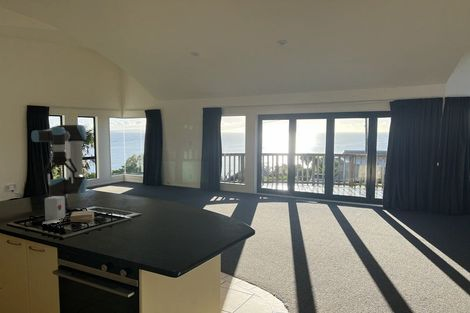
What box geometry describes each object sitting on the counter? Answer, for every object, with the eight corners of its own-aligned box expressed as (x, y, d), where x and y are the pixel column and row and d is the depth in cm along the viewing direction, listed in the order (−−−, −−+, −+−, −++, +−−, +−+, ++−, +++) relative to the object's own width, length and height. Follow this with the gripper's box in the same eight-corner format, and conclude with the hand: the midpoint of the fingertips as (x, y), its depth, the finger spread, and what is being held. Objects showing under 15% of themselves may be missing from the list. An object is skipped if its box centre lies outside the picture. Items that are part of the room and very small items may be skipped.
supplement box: (57, 220, 223) (56, 198, 222) (44, 220, 224) (43, 198, 223) (65, 217, 232) (65, 196, 231) (53, 217, 233) (52, 195, 232)
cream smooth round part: (44, 222, 219) (44, 220, 219) (61, 221, 222) (61, 219, 222) (41, 226, 210) (40, 224, 210) (58, 224, 213) (58, 222, 213)
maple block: (73, 219, 229) (73, 211, 228) (94, 217, 233) (93, 210, 232) (70, 223, 216) (70, 216, 216) (92, 222, 221) (92, 214, 220)
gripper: (36, 152, 211) (38, 185, 213) (79, 150, 220) (81, 183, 222) (38, 151, 218) (40, 183, 220) (80, 150, 227) (82, 181, 229)
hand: (60, 183), depth 221 cm, fingers open, 13 cm apart
